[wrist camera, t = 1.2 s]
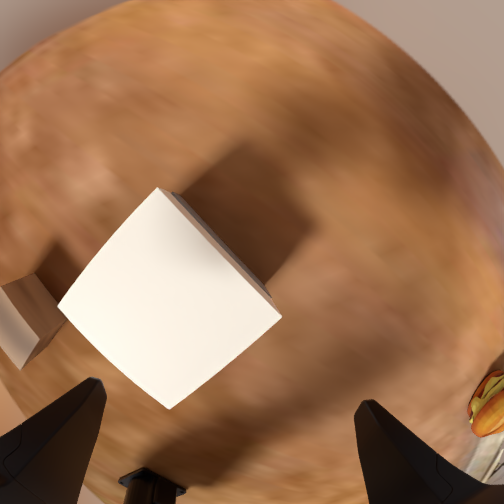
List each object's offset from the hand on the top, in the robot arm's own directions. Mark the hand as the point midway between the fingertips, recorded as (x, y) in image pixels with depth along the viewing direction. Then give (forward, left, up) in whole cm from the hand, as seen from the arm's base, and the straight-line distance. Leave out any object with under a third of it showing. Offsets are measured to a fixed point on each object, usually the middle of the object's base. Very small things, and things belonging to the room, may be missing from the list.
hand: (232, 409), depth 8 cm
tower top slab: (-2, +3, -10) cm, 10 cm away
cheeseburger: (+15, -42, -13) cm, 46 cm away
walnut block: (-14, +10, -13) cm, 21 cm away
